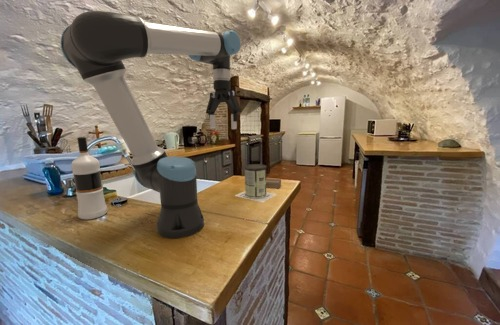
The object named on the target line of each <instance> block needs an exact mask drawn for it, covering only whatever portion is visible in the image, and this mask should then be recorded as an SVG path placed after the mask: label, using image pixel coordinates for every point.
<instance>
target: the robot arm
mask: <svg viewBox="0 0 500 325" xmlns="http://www.w3.org/2000/svg"><path fill="white" fill-rule="evenodd" d="M241 47H242V44H241V38H240V36H239V34H238V33H237V32H236V31H234V30H232V29H231V30H226V31H223V32H218V31H210V30H201V29H196V28H187V27H182V26H175V25H168V24H163V23H161V24H160V23H155V22H154V23H153V22H148V21H144V20H143V18H141V16H138V15H132V14H126V13H120V12H113V11H103V10H88V11H85V12H82V13H80V14H77V16H76V17H75V18H74V19H73V20H72V23H70V24H69V25H68V26H67V27H66V28H65V29H64V30H63V31H62V34H61V38H60V50H61V53H62V55H63V56H64V58H65V60H66V61H67V62H68V64H70V65H71V66H73V67H74V68H75V69H76V70H77V72H78V73H79V75H80V77H81V78H82V80H83V82H85V83H88V84H89V85H92V87H94V90H95V92H96V94H97V95H98V96H99V98H100V100H101V102H102V104H103V105H104V107H105V109H106V111H107V112H108V114H109V117H110V118H111V120H112V122H113V123H114V125H115V127H116V129H117V131H118V132H119V134H120V136H121V138H122V139H123V141H124V144H125V145H126V147H127V148H128V150H129V152H130V154H131V155H132V159H131V161H130V162H131V165H132V167H133V175H134V178H135V179H136V181H137V182H138V183H139V185H141V186H142V187H144V188H147V189H149V190H152V191H155V192H158V193H159V198H160V211H159V216H158V220H157V223H156V227H157V229H156V230H157V234H158V235H159V236H161V237H164V238H167V239H168V238H169V239H179V238H185V237H189V236H193V235H195V234H196V233H198V232H200V231H201V230H202V229H203V228H204V226H205V218H204V215H203V212H202V210H201V208H200V205H199V203H198V186H197V183H198V182H197V167H196V163H195V162H194V160H192V159H191V158H189V157H184V156H175V155H174V156H168V155H167V152H166V150H165V148H162V147H161V146H158V144H157V143H156V140H155V137H154V136H153V134H152V131H151V130H150V127H149V126H148V124H147V122H146V119H145V118H144V116H143V113H142V112H141V109H140V108H139V105H138V103H137V101H136V100H135V97H134V95H133V93H132V91H131V89H130V87H129V85H128V82H127V80H126V79H125V74H126V71H127V69H126V67H125V64H124V62H123V61H124V60H127V59H128V60H129V59H132V58H133V59H134V58H143V59H144V58H146V57H147V55H149V54H150V55H152V54H153V55H174V56H175V55H178V56H181V55H182V56H188V58H189V59H191V60H192V61H196V62H200V63H203V64H209V65H211V66H212V78H213V80H214V81H213V90H214V92H210V93H209V100H208V103H207V107H206V110H205V113H206V114H208V115H209V116H208V117H209V118H208V119H209V123H210V128H209V129H216V128H217V126H216V114H215V113H216V111H217V109H218V108H219V106H220V104H221V103H225V104H226V105H227V107H228V109H229V110H230V111H231V114H230V115H231V116H230V121H231V122H230V123H231V124H230V125H231V128H230V129H231V130H237V129H238V128H237V127H238V126H237V123H238V122H239V119H238V118H239V116H238V115H239V114H240V113H242V108H241V106H240V104H239V101H238V98H237V96H236V91H234V90H231V89H232V88H231V81H230V80H231V56H233V55H235V54H237V53H239V51H240V50H241Z"/></svg>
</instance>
